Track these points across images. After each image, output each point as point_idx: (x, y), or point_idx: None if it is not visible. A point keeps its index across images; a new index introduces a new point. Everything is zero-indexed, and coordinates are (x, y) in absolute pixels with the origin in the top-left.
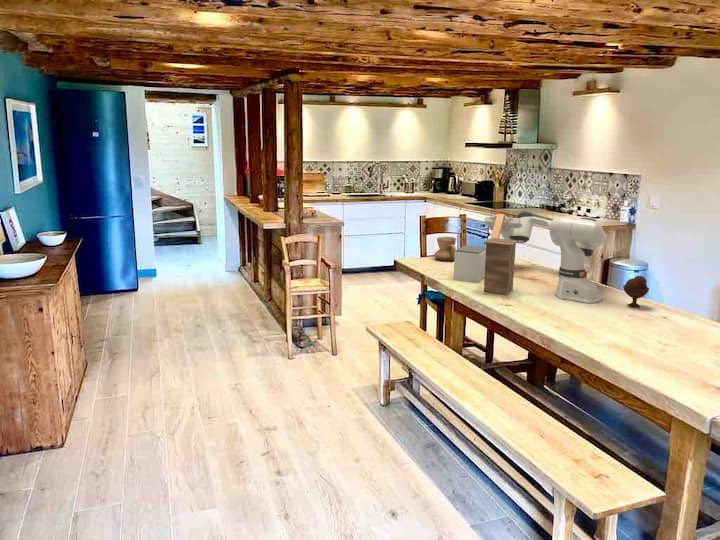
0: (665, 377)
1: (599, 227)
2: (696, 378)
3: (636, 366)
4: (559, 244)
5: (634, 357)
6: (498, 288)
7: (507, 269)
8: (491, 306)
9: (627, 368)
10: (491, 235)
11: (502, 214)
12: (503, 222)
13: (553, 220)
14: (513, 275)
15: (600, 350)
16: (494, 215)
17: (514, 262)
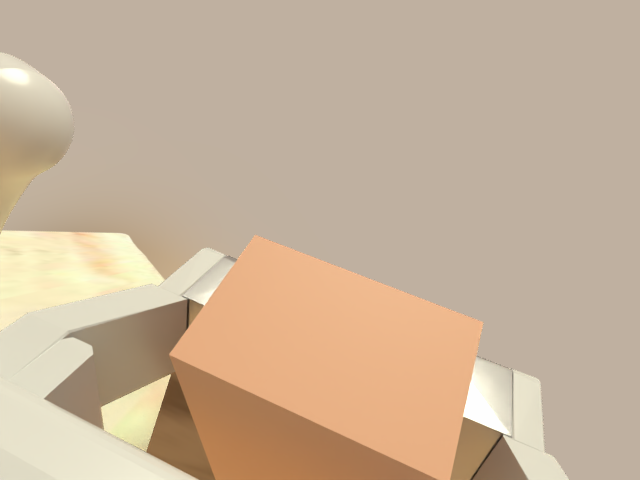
0: (108, 246)
1: None
2: (75, 236)
3: (121, 257)
4: (16, 200)
5: (104, 260)
6: None
7: None
8: None
9: (135, 259)
10: None
11: (309, 267)
12: (205, 440)
13: (63, 95)
14: (149, 446)
15: (136, 274)
16: (519, 375)
17: (168, 383)
